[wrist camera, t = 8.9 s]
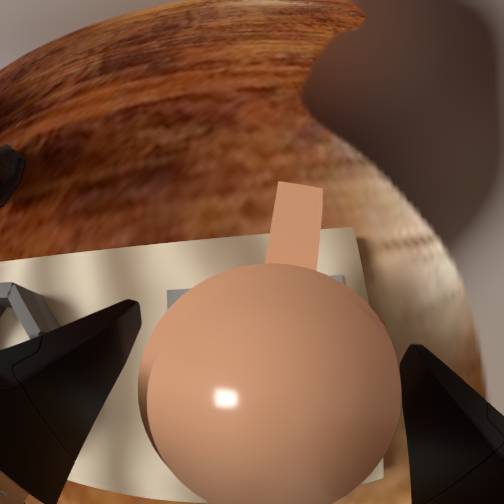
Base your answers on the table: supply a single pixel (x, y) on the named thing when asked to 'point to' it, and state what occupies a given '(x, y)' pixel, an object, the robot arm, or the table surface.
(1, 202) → the lantern
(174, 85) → the table surface
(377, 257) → the table surface
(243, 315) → the peach jug
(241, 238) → the board
